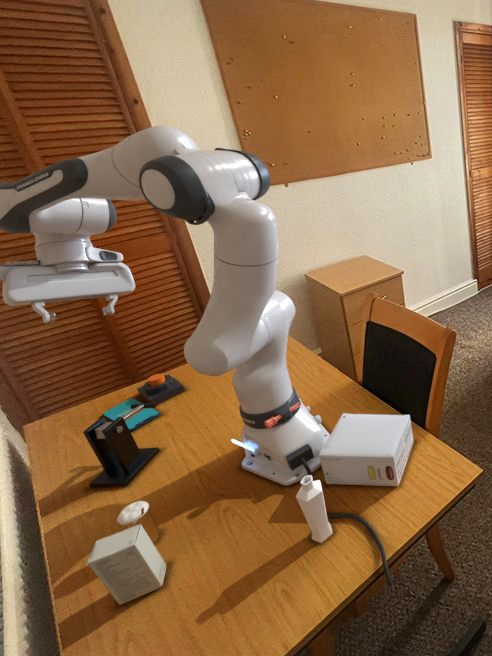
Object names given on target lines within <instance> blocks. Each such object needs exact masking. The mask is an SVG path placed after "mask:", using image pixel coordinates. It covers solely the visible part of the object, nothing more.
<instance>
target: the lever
mask: <svg viewBox="0 0 492 656" xmlns="http://www.w3.org/2000/svg"><path fill="white" fill-rule="evenodd" d="M157 405H158V404H156V403H148V402H147V403H144V402H143V404H132V405H131V406H130V408H131V409H133V410H132V411H130V412H128V413H127V414H125V415H124V416H122V417H123V418H124V420H125V421H127V420H128V419H130V418H131V417H133V416H134V415H136V414H137V413H139V412H140V411H142V410H143V409H145V408H152V409H155V408H156V407H157ZM112 422H113V421H107V422H106V423H104V424H103V425H101V426H99V427H98V428H96V429H95V433H96V437H97V439H105V436H104V434H103V433H102V431H103V430H104V429H105V428H106V427H107V426H108V425H110V424H111V423H112Z"/></svg>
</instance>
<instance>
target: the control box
mask: <svg viewBox="0 0 492 656" xmlns="http://www.w3.org/2000/svg"><path fill="white" fill-rule="evenodd" d="M163 375H164V377H165V380H166V381H165V382H164V383H162V384H160V385H157V386H150V384H149V382H148V381H146V382H145V383H144V384H143V385H141V386H139V387H137V388H136V390H137V392H138V395H139V396H141V398H142V399H144V400H145V401H146V402H147V403H156V404H157V405H159V404H161V403H162V402H165V401H168V400H170V399H171V398H173V397H175V396H177V395H179V394H181V393H183V392H185V391H186V389H185V387H184V385H183V383H181V382H179V380H177V379H175V378H174V377H173V376H171V375H170V374H169V373H167V374H163Z"/></svg>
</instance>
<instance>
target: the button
mask: <svg viewBox="0 0 492 656" xmlns="http://www.w3.org/2000/svg"><path fill="white" fill-rule="evenodd" d="M164 375H165V374H164V373H160V372H159V373H154V374H153V375H151V376H149V377H148V378H147V382H149V384H150V386H157V385H160V384H162V383H164V382H165V381H166V380H165V377H164Z"/></svg>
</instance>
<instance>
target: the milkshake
mask: <svg viewBox="0 0 492 656" xmlns="http://www.w3.org/2000/svg"><path fill="white" fill-rule="evenodd" d="M116 522H117V523H118V525H119V526H121V528H122V530H125V529H128V528H131V527H133V526H136V525H139V524H141V525H142V527H143V528H144V530H145V531H146V533H147V535H148V536H149V538H150V539H151V541H152V542H153V544H154V543H156V541H157V540H158V538H159V536H160V535H159V530H158V528H157V524H156V521H155V520H154V517H153V514H152V510H151V507H150V504H149V502H148V501H145V500H137V501H134V502H131V503H130V504H128V505H126V506H125V507H124V508H123V509H122V510H120V513H119V514H118V516H117V518H116Z"/></svg>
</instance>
